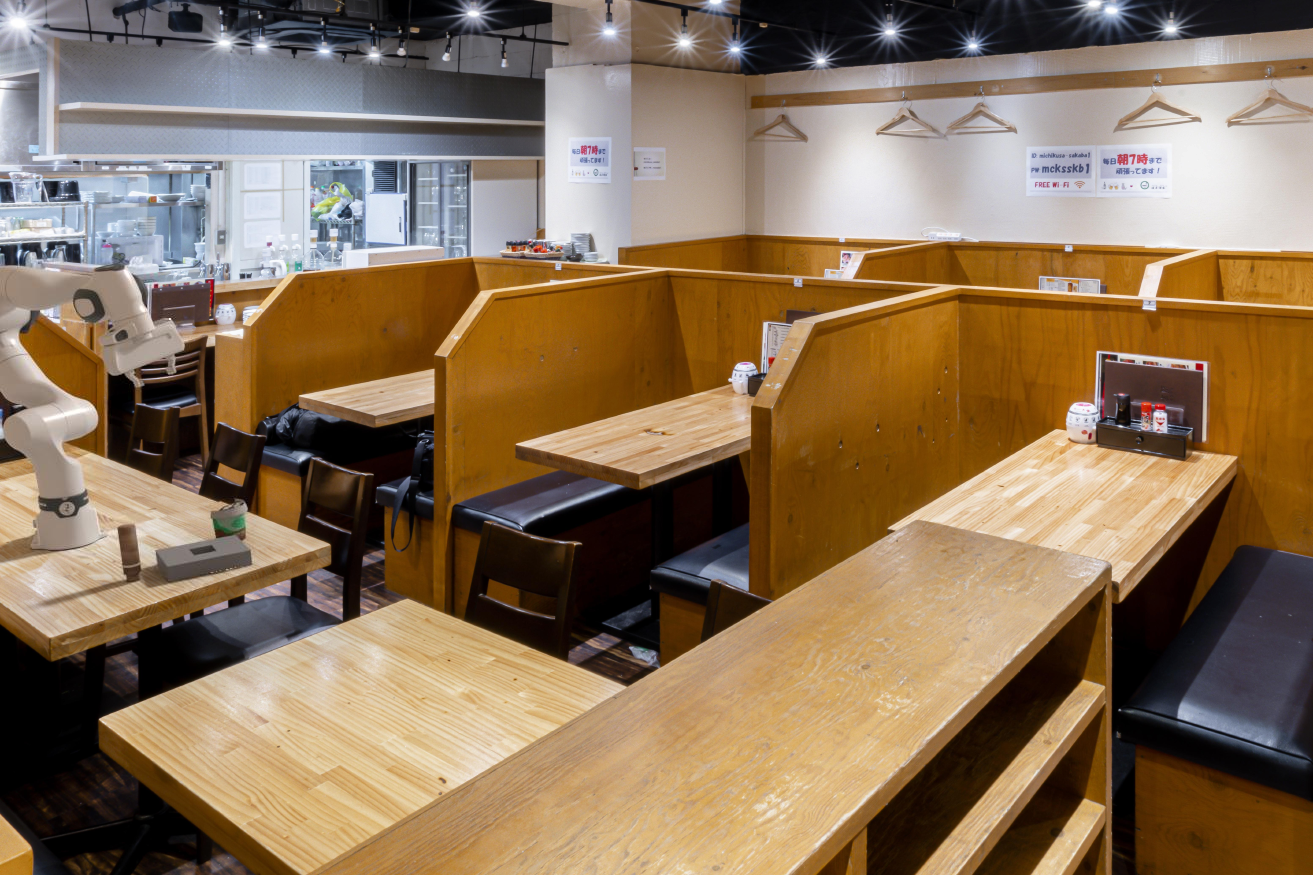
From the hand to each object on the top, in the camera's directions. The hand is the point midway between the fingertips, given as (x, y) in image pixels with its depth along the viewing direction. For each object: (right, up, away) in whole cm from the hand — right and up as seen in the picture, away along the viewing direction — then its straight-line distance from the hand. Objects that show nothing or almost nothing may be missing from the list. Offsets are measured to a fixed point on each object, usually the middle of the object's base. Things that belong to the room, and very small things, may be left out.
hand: (156, 380), depth 267 cm
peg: (-4, -50, -3) cm, 50 cm away
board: (+9, -48, +7) cm, 49 cm away
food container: (+10, -43, +26) cm, 51 cm away
